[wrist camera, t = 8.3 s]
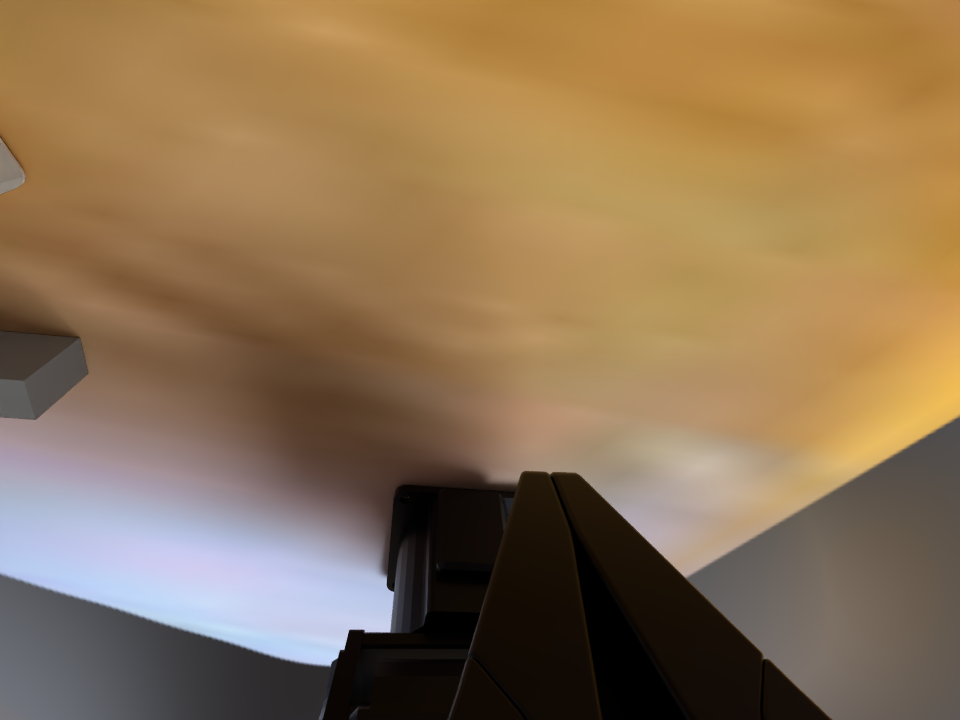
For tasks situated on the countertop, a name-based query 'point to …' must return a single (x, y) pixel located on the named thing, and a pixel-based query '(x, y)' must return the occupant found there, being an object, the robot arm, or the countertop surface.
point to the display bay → (37, 372)
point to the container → (9, 170)
